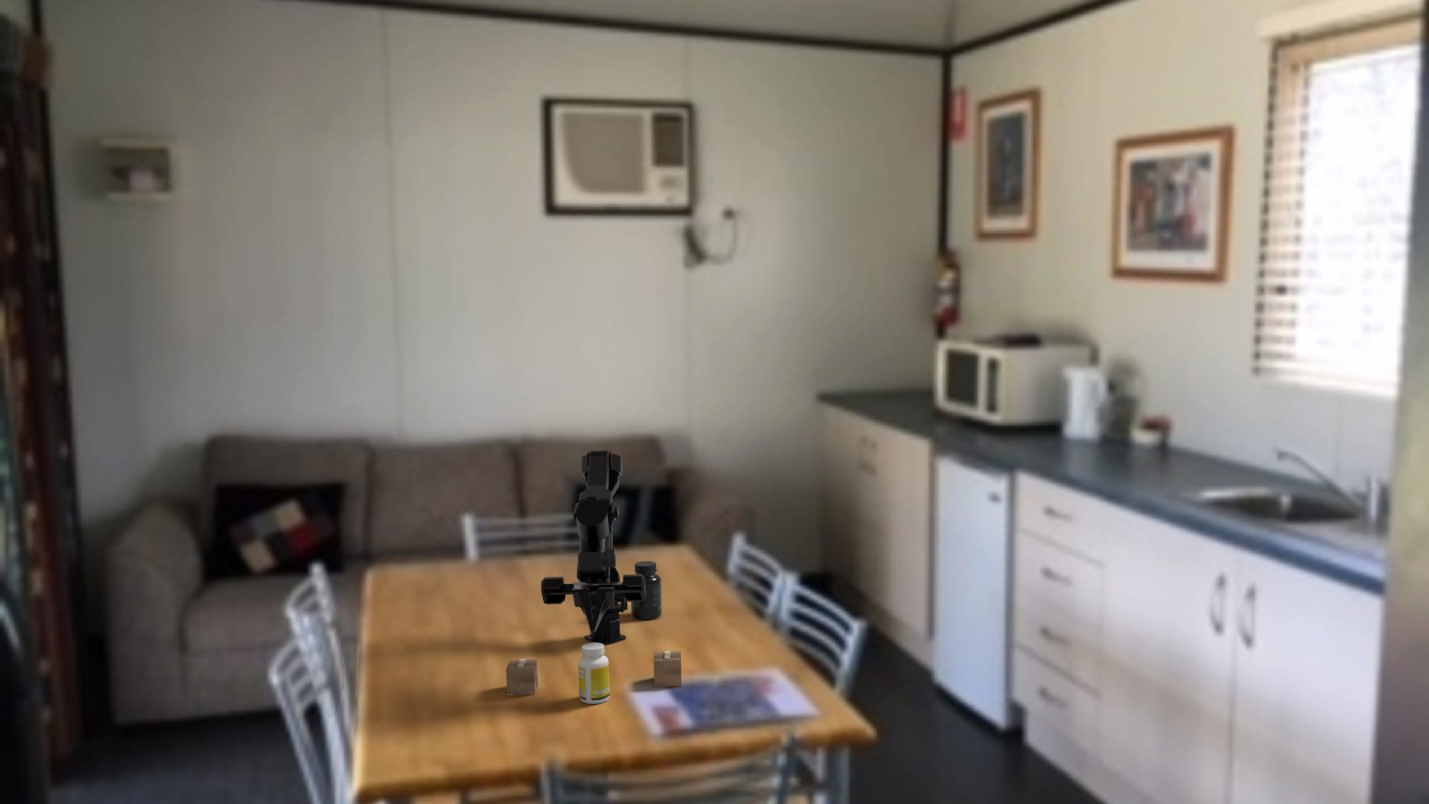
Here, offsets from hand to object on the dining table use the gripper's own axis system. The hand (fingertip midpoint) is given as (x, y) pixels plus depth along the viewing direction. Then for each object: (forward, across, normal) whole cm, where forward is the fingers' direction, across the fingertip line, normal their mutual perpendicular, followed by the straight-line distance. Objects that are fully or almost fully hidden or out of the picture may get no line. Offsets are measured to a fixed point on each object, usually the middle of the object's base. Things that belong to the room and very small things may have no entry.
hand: (592, 631), depth 205 cm
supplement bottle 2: (-25, +8, +43) cm, 51 cm away
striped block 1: (+5, -14, +12) cm, 19 cm away
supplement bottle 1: (+10, 0, +8) cm, 12 cm away
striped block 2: (+4, +13, +13) cm, 19 cm away
